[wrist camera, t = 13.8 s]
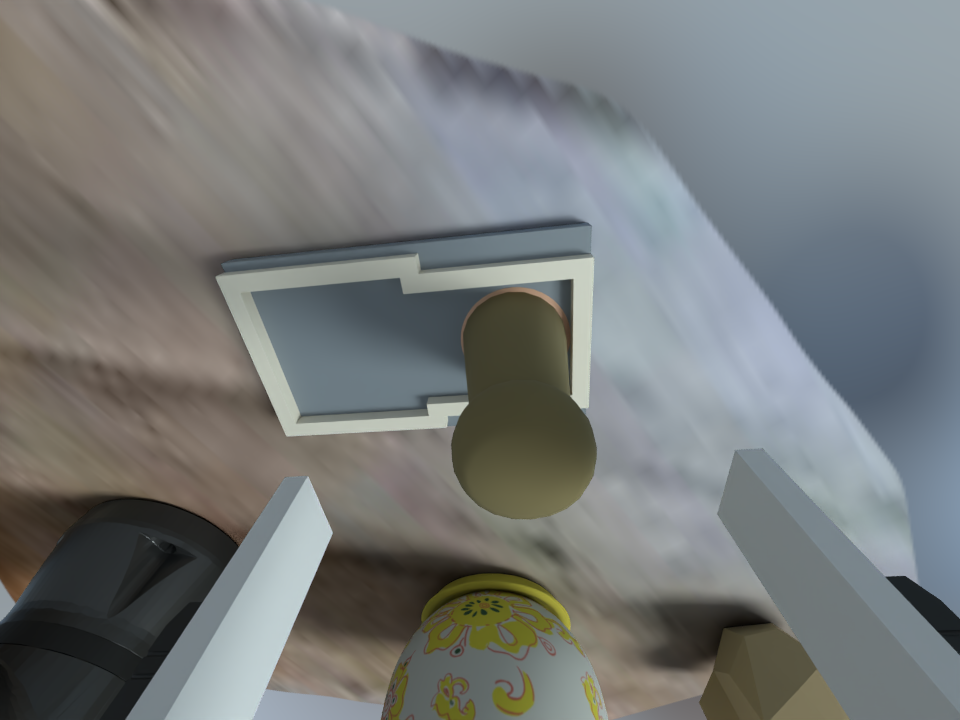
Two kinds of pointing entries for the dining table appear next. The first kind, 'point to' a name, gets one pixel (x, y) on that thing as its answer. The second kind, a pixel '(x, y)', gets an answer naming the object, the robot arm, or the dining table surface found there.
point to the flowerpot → (493, 658)
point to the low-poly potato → (766, 679)
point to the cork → (520, 412)
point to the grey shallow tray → (397, 322)
